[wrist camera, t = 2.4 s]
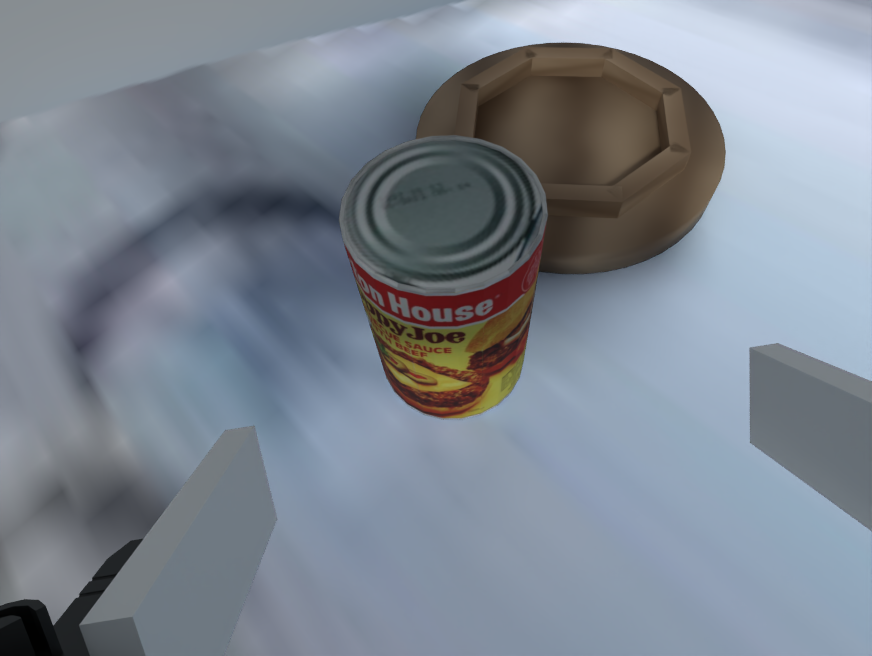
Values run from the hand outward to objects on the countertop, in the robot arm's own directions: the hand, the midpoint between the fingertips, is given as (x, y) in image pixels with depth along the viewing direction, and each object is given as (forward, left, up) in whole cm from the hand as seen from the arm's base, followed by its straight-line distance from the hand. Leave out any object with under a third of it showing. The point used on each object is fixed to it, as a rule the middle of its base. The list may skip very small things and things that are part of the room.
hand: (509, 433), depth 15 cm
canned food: (-3, +9, -14) cm, 17 cm away
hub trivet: (+3, +25, -14) cm, 29 cm away
